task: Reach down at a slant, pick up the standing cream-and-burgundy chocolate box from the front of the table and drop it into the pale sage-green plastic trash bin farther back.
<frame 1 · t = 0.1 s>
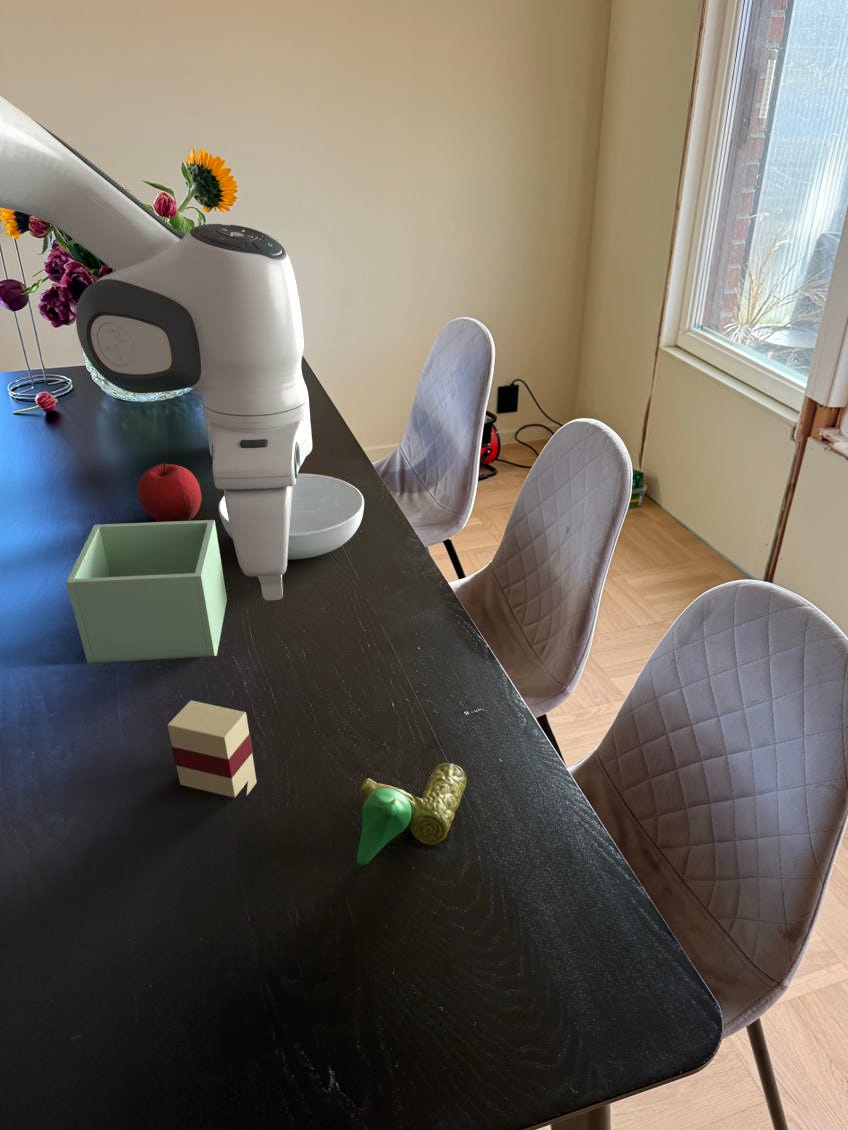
hand: (275, 571, 84), 20 cm above the table, tool pointing down, fingers open, 8 cm apart
apple: (174, 520, 138), on the table
chocolate box: (220, 789, 88), on the table
trash bin: (162, 632, 111), on the table
bird figurine: (419, 847, 82), on the table
serving bowl: (296, 544, 133), on the table
chinaware: (252, 450, 164), on the table
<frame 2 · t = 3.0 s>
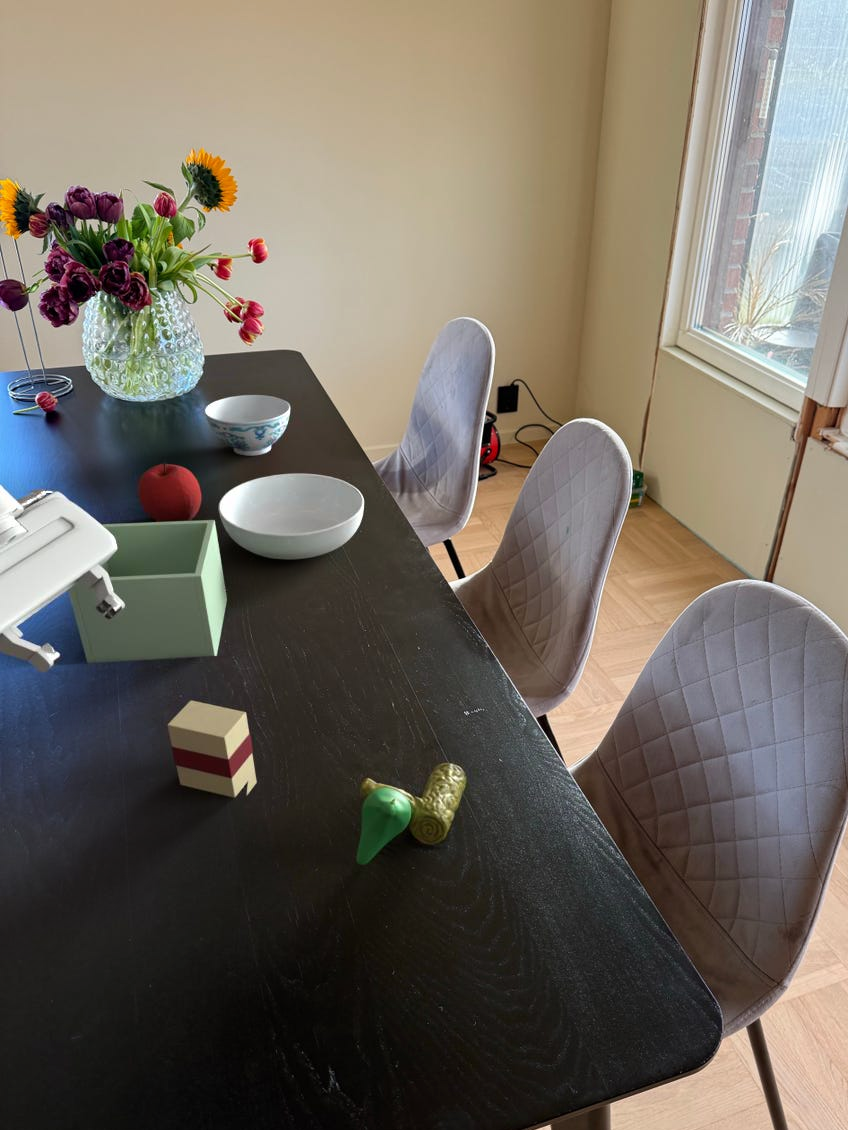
hand: (86, 638, 82), 16 cm above the table, tool tilted 45°, fingers open, 8 cm apart
nothing on the table moved.
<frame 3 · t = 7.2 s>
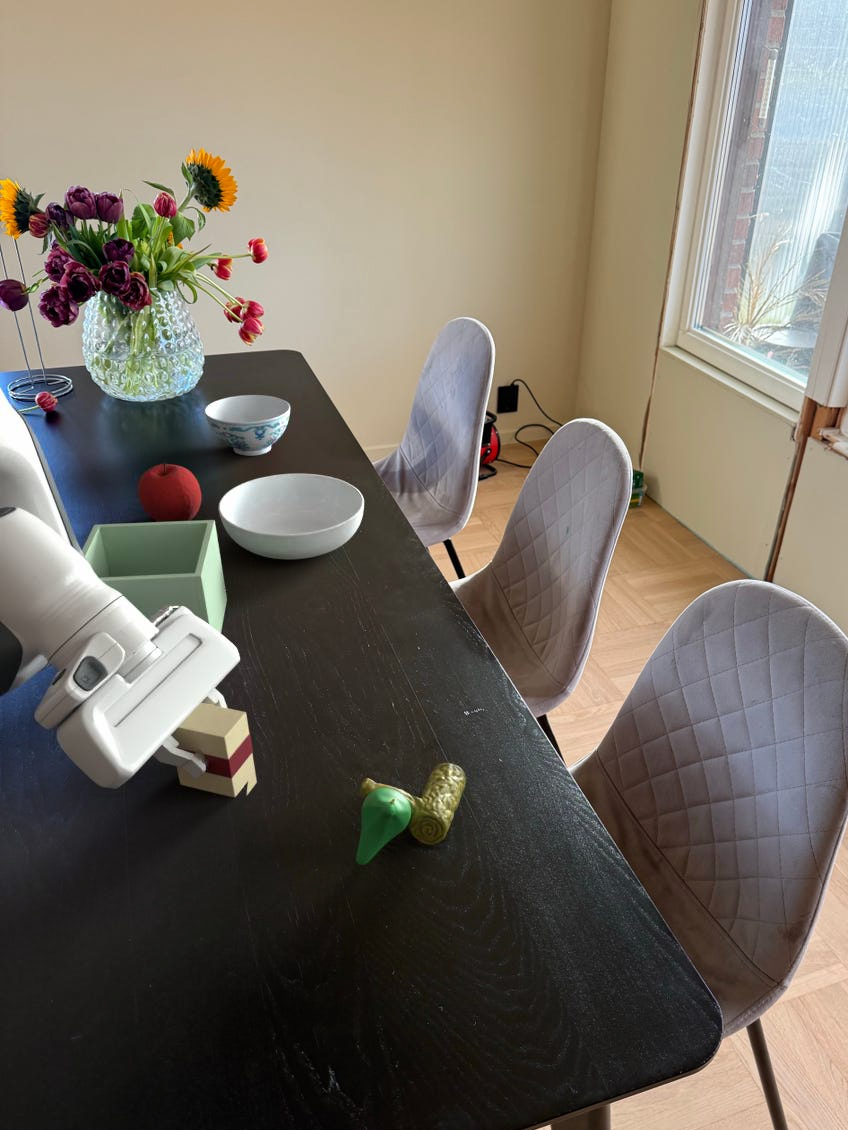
hand: (219, 753, 85), 5 cm above the table, tool tilted 45°, fingers closed on chocolate box, 4 cm apart
chocolate box: (220, 789, 88), on the table, touching gripper
everything else where it was.
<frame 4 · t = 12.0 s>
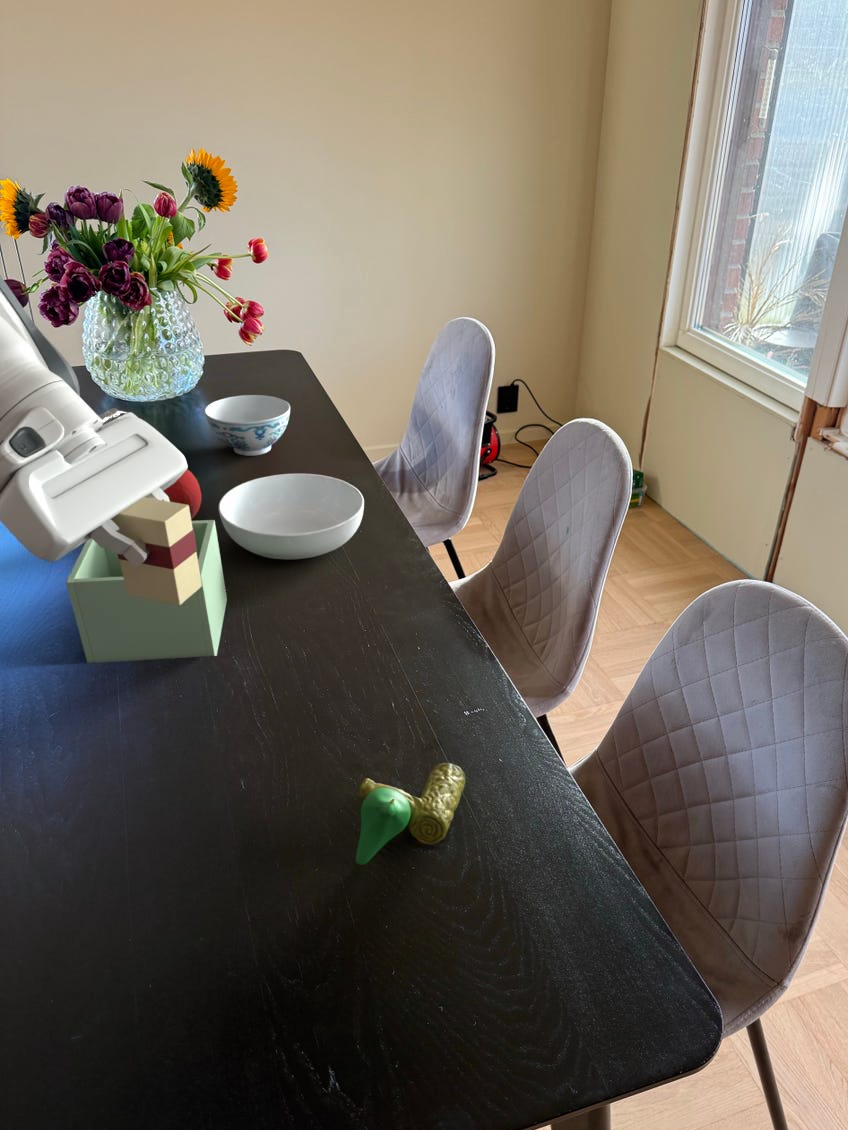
hand: (162, 548, 85), 21 cm above the table, tool tilted 45°, fingers closed on chocolate box, 4 cm apart
chocolate box: (165, 590, 88), point 16 cm above the table, touching gripper
everything else where it was.
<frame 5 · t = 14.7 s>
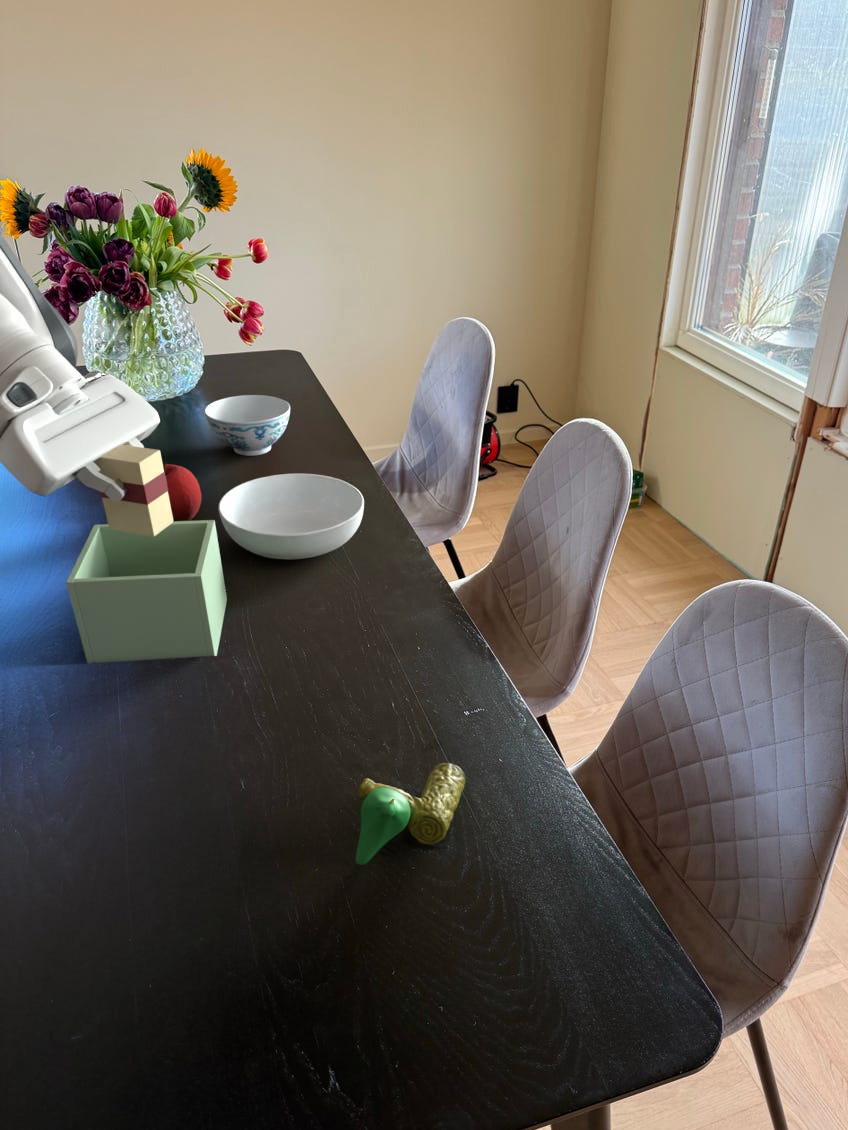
hand: (137, 487, 101), 20 cm above the table, tool tilted 45°, fingers closed on chocolate box, 4 cm apart
chocolate box: (141, 525, 103), point 15 cm above the table, touching gripper
everything else where it was.
when the fingers open (13 cm above the table, at t = 16.8 s): chocolate box drops 8 cm, resting on trash bin.
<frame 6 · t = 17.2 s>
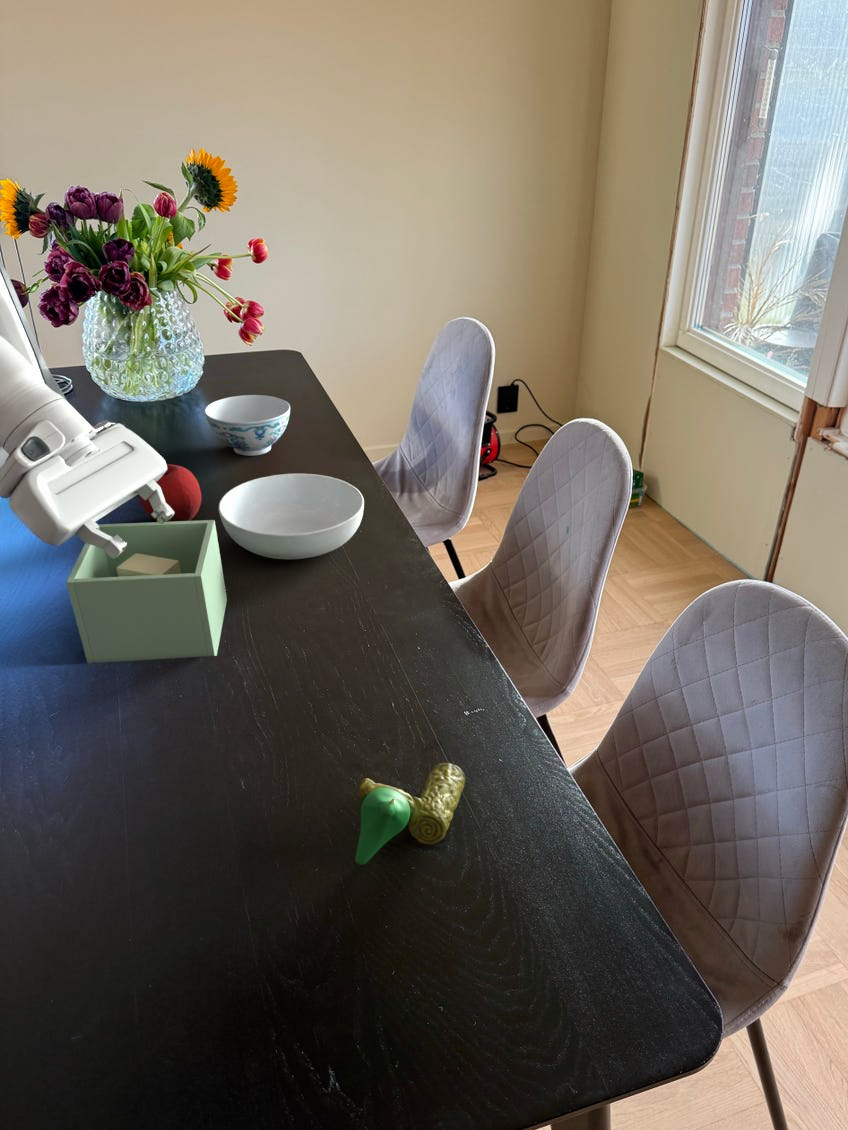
hand: (145, 535, 104), 14 cm above the table, tool tilted 45°, fingers open, 8 cm apart
chocolate box: (160, 627, 111), point 1 cm above the table, touching trash bin
everything else where it was.
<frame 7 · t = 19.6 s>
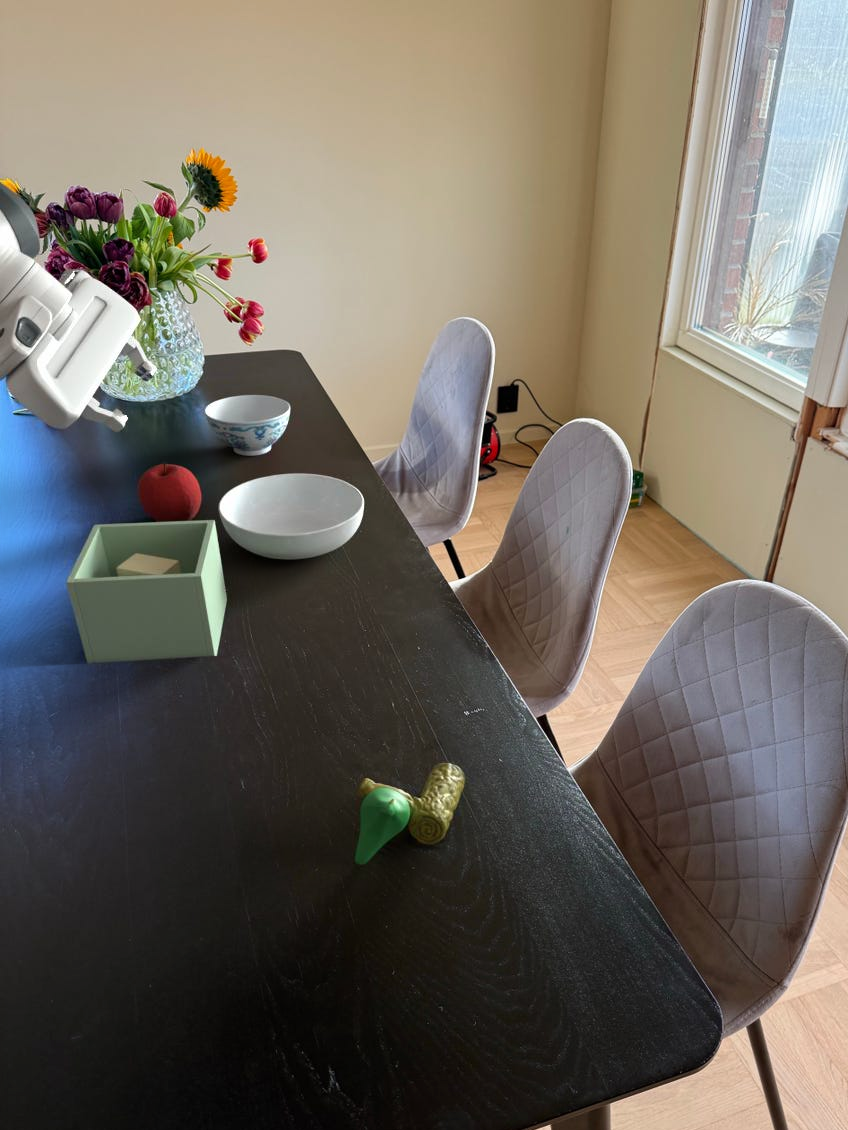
hand: (138, 400, 105), 27 cm above the table, tool tilted 40°, fingers open, 8 cm apart
nothing on the table moved.
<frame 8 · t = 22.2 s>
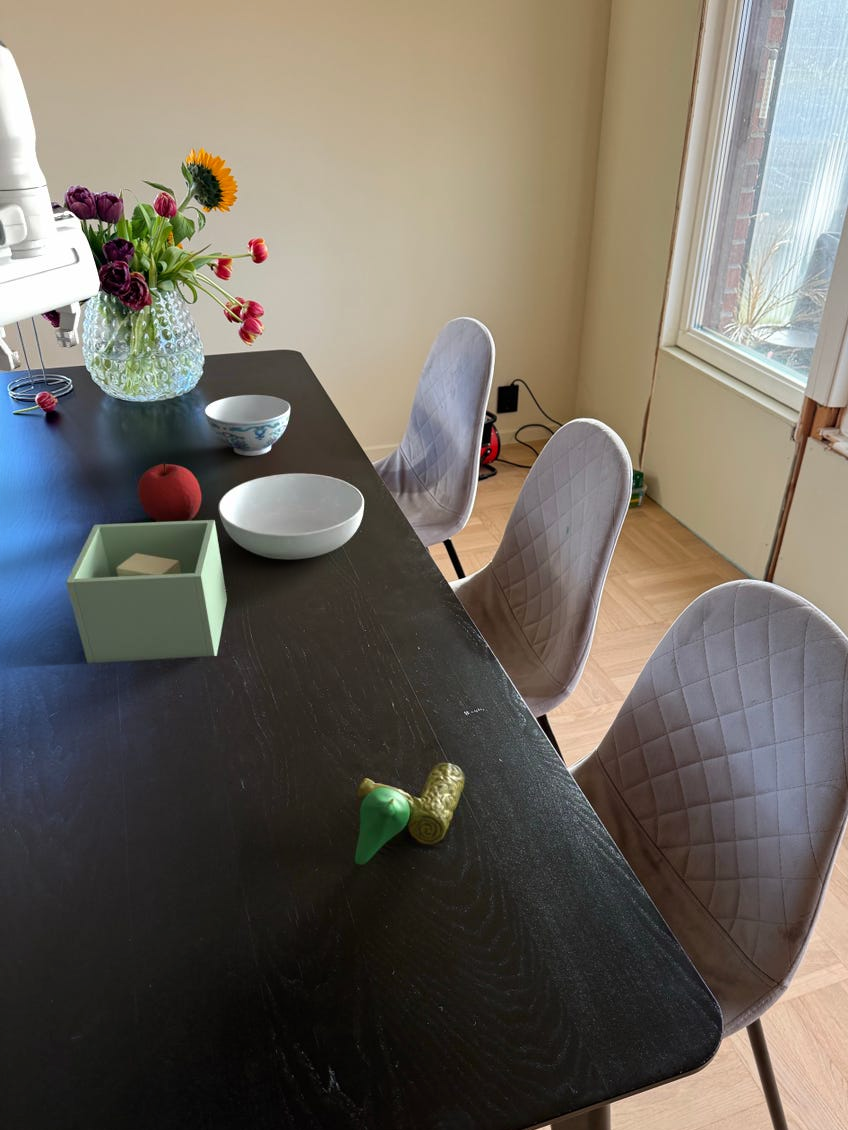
hand: (40, 357, 96), 33 cm above the table, tool pointing down, fingers open, 8 cm apart
nothing on the table moved.
at the end: chocolate box inside the target area in the trash bin (0.0 cm from its centre), point 0.8 cm above the trash bin's base; the gripper is holding nothing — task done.
